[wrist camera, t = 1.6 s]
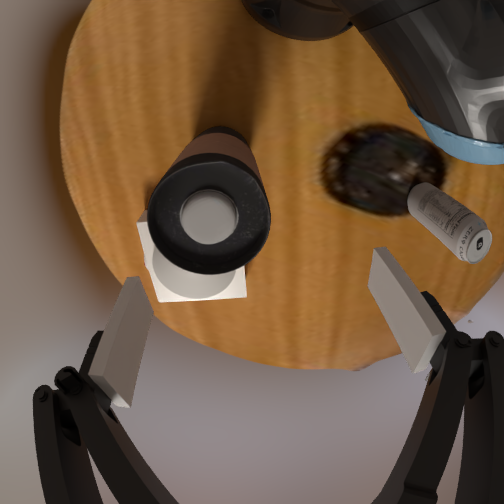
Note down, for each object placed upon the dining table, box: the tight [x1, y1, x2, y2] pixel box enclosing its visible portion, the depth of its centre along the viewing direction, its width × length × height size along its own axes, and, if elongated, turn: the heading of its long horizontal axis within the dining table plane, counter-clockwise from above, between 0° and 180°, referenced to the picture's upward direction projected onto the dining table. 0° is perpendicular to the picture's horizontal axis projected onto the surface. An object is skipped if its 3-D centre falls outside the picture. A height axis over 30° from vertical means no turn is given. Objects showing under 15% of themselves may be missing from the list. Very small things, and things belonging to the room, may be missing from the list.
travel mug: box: [147, 126, 271, 275], centre depth 25 cm, size 8×8×20 cm
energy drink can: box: [408, 182, 492, 264], centre depth 32 cm, size 6×6×15 cm
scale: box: [137, 210, 247, 302], centre depth 38 cm, size 13×14×5 cm
